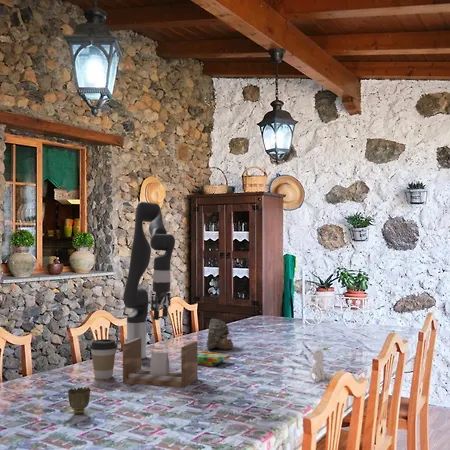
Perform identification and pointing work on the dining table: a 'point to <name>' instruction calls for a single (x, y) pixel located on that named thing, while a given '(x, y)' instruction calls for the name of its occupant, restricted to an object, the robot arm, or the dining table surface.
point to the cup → (79, 399)
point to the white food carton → (159, 364)
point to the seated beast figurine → (318, 367)
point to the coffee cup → (103, 357)
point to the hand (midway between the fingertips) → (160, 318)
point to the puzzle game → (210, 358)
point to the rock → (218, 335)
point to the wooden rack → (136, 375)
